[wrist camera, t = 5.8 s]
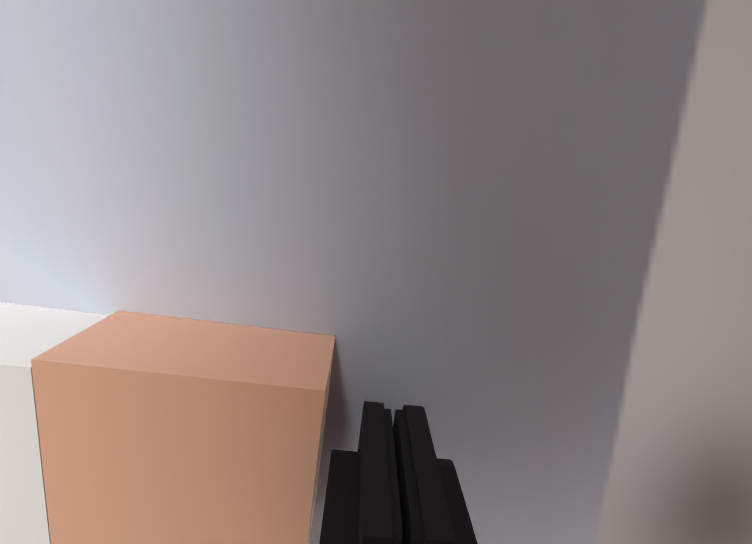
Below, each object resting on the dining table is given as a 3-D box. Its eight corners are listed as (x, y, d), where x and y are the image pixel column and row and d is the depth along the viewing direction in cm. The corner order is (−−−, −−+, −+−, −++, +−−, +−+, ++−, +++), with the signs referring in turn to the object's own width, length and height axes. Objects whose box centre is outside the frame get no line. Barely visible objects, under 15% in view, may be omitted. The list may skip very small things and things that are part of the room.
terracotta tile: (123, 307, 10) (30, 359, 8) (336, 332, 11) (325, 391, 8) (129, 481, 12) (55, 579, 9) (316, 498, 12) (301, 598, 9)
